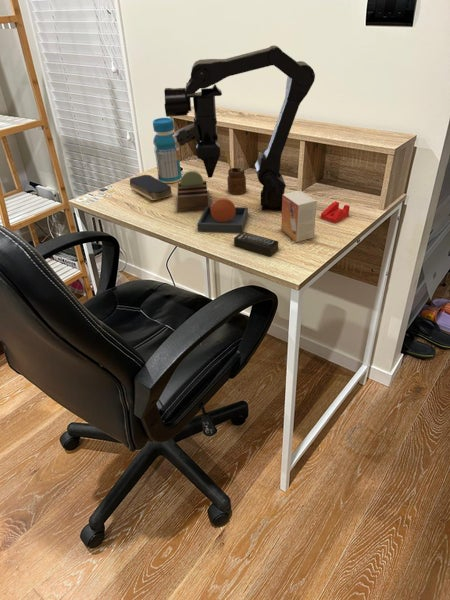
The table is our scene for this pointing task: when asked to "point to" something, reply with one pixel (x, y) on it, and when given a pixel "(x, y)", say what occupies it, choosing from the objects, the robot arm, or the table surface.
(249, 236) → the multiport hub
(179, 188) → the rack
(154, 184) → the black sponge
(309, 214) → the small box
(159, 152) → the beverage bottle
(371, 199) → the table surface
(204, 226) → the tray
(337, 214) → the bracket
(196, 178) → the sage disc
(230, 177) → the utensil holder
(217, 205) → the terracotta disc
